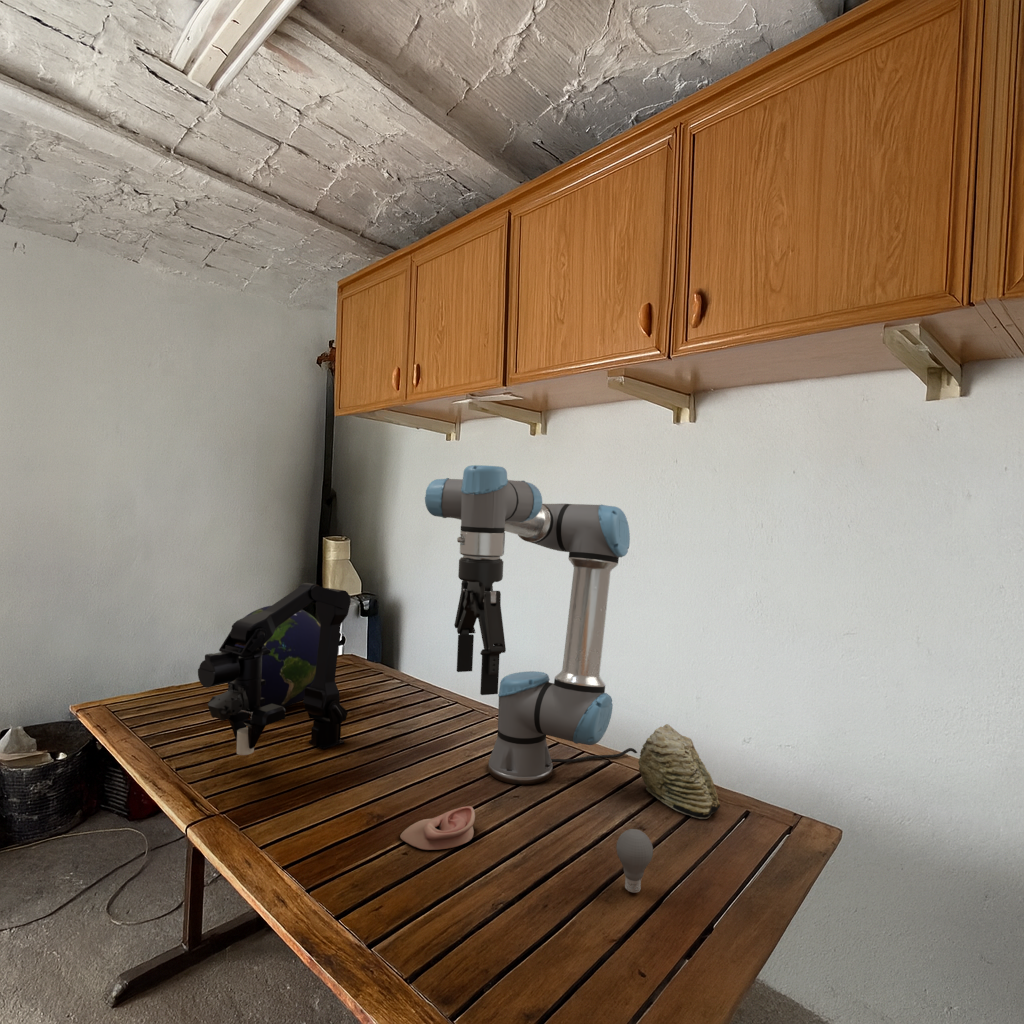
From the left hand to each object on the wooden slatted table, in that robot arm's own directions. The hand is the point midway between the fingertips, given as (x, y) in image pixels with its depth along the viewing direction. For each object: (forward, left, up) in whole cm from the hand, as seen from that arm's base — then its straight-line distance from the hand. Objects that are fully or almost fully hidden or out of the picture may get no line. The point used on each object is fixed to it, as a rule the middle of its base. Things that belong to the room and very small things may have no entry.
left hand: (245, 746), depth 141 cm
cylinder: (0, 0, -1) cm, 1 cm away
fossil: (-62, +73, -7) cm, 96 cm away
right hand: (-10, +61, +26) cm, 68 cm away
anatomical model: (-15, +48, -7) cm, 51 cm away
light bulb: (-26, +84, -7) cm, 88 cm away
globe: (-28, -39, -7) cm, 48 cm away
